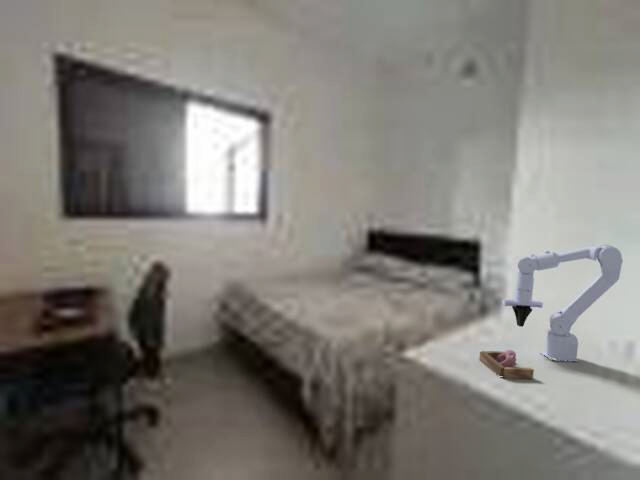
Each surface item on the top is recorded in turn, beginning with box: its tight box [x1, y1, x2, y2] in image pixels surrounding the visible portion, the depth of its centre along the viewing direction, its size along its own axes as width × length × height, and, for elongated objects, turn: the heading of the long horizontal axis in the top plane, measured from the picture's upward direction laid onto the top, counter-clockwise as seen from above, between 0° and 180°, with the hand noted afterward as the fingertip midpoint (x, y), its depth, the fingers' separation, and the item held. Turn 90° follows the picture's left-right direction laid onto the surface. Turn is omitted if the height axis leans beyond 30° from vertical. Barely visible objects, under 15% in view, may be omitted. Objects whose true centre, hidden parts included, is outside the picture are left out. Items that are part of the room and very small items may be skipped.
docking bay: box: [479, 350, 535, 380], centre depth 141 cm, size 10×16×3 cm, turn 4°
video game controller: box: [495, 349, 517, 367], centre depth 143 cm, size 10×5×7 cm, turn 160°
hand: (520, 325), depth 160 cm, fingers closed
